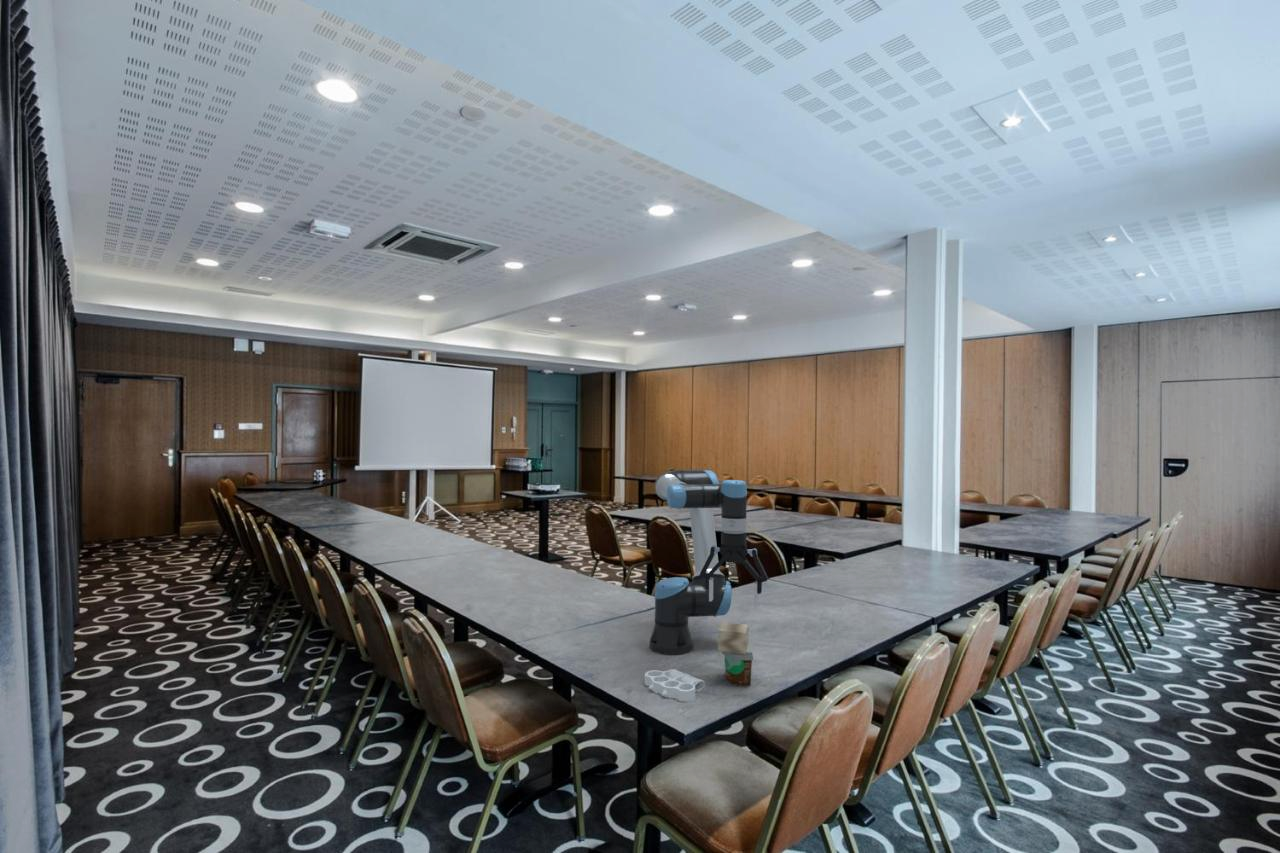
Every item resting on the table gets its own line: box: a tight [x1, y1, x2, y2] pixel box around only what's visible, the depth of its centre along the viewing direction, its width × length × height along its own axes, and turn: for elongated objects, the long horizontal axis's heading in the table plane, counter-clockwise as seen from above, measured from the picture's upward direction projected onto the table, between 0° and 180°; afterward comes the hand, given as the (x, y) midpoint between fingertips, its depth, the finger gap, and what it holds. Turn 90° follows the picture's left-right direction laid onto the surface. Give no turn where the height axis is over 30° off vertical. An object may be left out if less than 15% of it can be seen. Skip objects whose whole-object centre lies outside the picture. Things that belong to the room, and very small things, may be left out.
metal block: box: [717, 622, 749, 654], centre depth 182 cm, size 8×8×6 cm
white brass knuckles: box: [644, 668, 706, 702], centre depth 176 cm, size 3×18×15 cm
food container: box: [721, 651, 754, 687], centre depth 183 cm, size 12×6×10 cm, turn 20°
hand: (733, 602), depth 183 cm, fingers open, 13 cm apart
